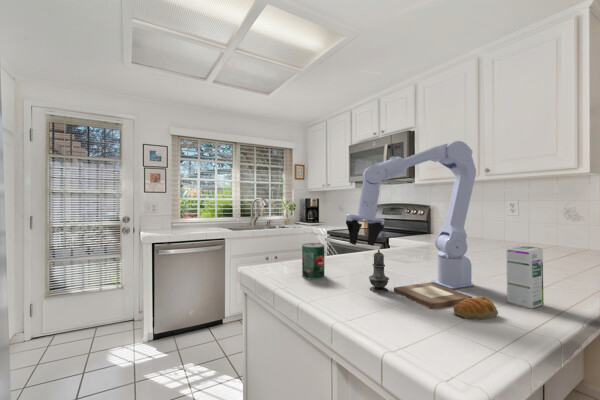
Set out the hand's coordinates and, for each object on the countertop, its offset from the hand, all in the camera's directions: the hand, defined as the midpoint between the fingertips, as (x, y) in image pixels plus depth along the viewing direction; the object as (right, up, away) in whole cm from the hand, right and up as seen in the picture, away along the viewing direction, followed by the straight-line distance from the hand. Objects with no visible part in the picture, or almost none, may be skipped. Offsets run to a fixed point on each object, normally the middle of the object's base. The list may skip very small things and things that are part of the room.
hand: (361, 244), depth 93 cm
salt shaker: (+3, -13, -8) cm, 15 cm away
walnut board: (+16, -12, -14) cm, 24 cm away
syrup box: (+38, -12, -19) cm, 44 cm away
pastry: (+21, -13, -26) cm, 36 cm away
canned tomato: (-15, -12, +7) cm, 21 cm away
